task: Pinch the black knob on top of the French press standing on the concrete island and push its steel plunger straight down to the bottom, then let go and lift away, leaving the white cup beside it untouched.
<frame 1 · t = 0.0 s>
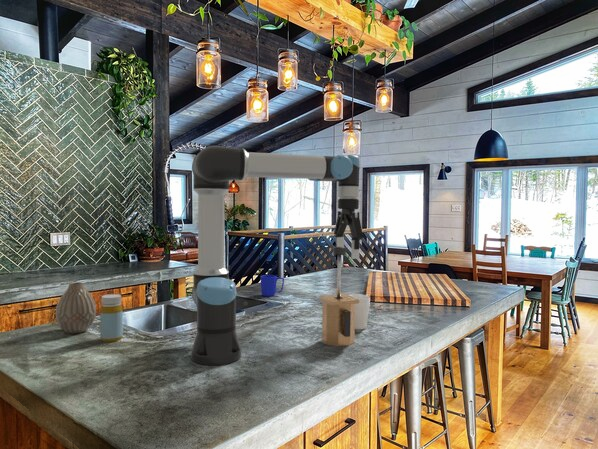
hand: (347, 256, 162), 28 cm above the counter, fingers open, 13 cm apart
bottle: (111, 340, 152), on the counter
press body: (338, 341, 153), on the counter
mug: (272, 295, 227), on the counter
plunger: (339, 276, 152), point 22 cm above the counter, slide at 0.0 cm
vase: (76, 331, 161), on the counter
cup: (357, 327, 170), on the counter
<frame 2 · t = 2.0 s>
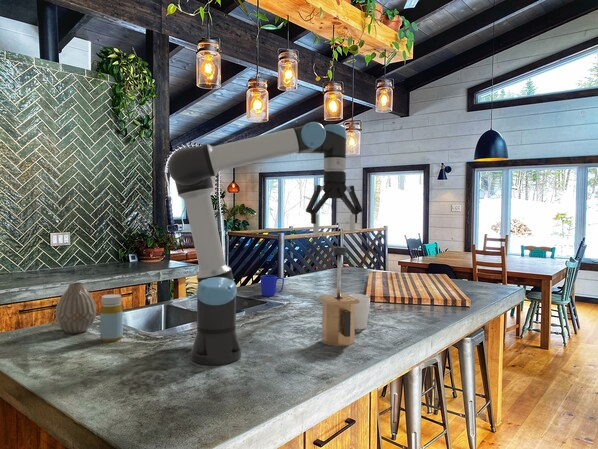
hand: (334, 233, 153), 37 cm above the counter, fingers open, 13 cm apart
nothing on the counter moved.
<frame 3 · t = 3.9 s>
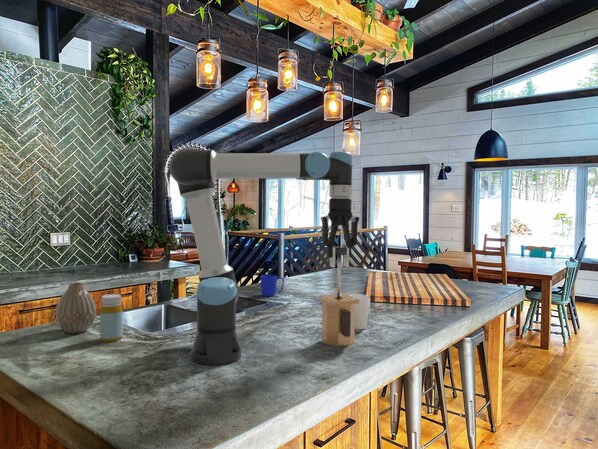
hand: (339, 266, 152), 26 cm above the counter, fingers closed on plunger, 4 cm apart
plunger: (339, 277, 152), point 22 cm above the counter, slide at 0.0 cm, touching gripper
everything else where it was.
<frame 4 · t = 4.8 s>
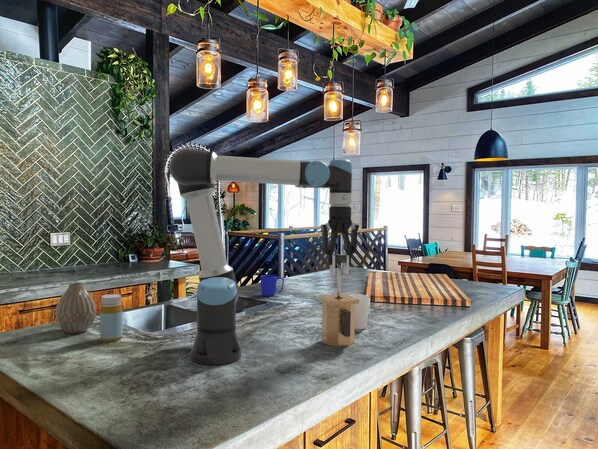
hand: (339, 274, 152), 23 cm above the counter, fingers closed on plunger, 4 cm apart
plunger: (339, 284, 152), point 20 cm above the counter, slide at 2.6 cm, touching gripper
everything else where it was.
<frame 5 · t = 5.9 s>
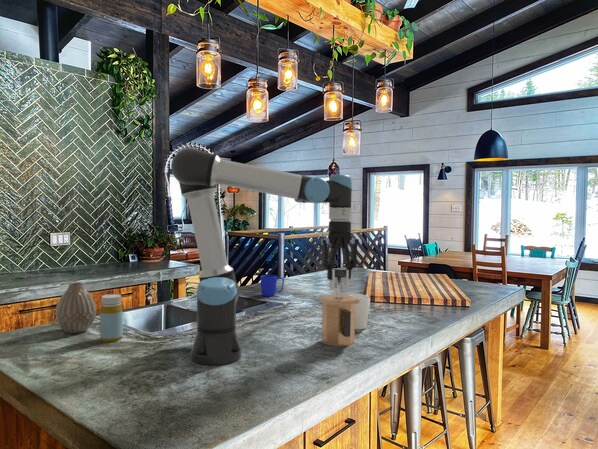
hand: (338, 288, 152), 18 cm above the counter, fingers closed on plunger, 4 cm apart
plunger: (338, 299, 152), point 15 cm above the counter, slide at 7.6 cm, touching gripper
everything else where it was.
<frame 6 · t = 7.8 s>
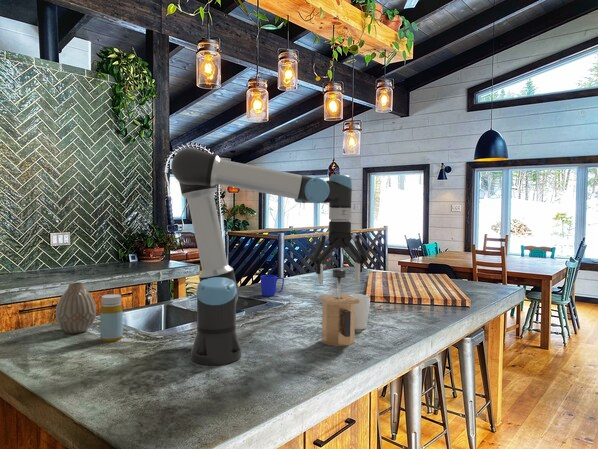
hand: (339, 282, 152), 20 cm above the counter, fingers open, 13 cm apart
plunger: (338, 299, 152), point 15 cm above the counter, slide at 7.7 cm
everything else where it was.
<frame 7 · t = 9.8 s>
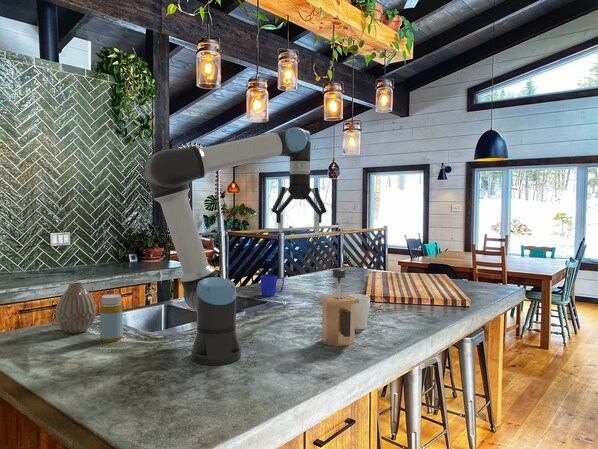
hand: (298, 232, 162), 37 cm above the counter, fingers open, 13 cm apart
nothing on the counter moved.
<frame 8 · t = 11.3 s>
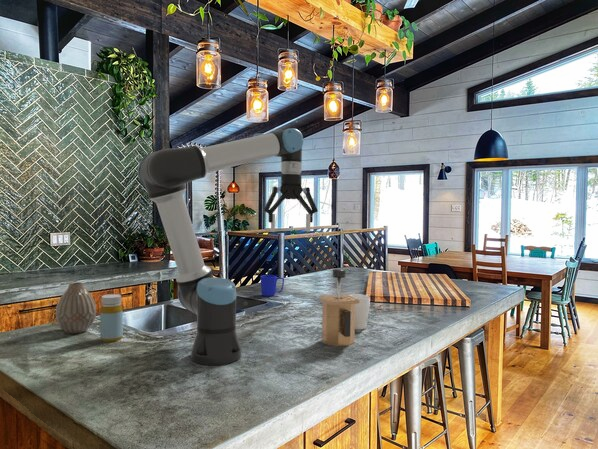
hand: (290, 231, 164), 37 cm above the counter, fingers open, 13 cm apart
nothing on the counter moved.
at the end: plunger slide at 7.7 cm; the gripper is holding nothing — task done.
